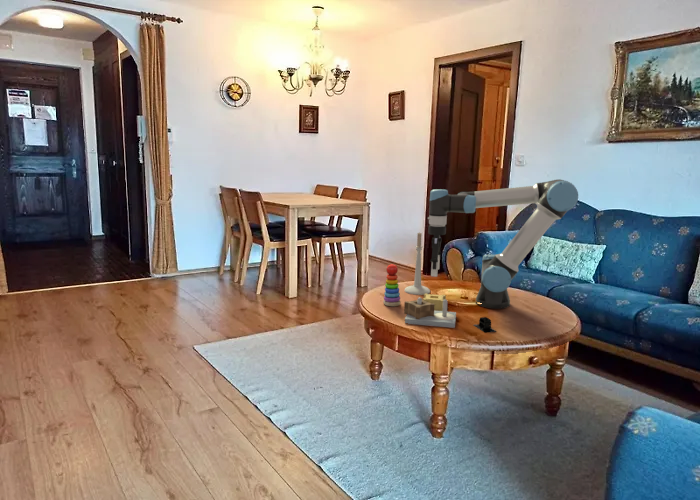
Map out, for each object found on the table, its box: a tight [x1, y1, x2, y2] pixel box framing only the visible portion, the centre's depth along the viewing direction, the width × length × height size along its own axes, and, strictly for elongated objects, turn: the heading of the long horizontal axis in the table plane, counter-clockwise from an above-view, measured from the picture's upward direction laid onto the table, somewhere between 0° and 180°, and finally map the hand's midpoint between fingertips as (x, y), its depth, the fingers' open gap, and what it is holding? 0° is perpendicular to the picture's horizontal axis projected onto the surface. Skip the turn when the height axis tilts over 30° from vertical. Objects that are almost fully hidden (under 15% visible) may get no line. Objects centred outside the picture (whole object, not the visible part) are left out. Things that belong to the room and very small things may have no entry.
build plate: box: [472, 316, 498, 334], centre depth 199 cm, size 12×7×5 cm, turn 16°
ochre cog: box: [422, 293, 447, 311], centre depth 224 cm, size 10×10×5 cm
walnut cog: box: [403, 298, 435, 319], centre depth 209 cm, size 10×10×5 cm
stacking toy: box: [383, 263, 402, 307], centre depth 227 cm, size 8×8×19 cm
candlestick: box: [404, 232, 431, 296], centre depth 248 cm, size 13×13×30 cm
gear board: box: [404, 296, 457, 329], centre depth 208 cm, size 20×14×9 cm
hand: (435, 272), depth 222 cm, fingers open, 13 cm apart
